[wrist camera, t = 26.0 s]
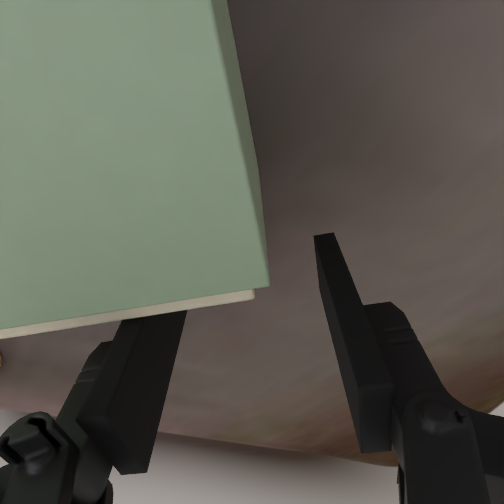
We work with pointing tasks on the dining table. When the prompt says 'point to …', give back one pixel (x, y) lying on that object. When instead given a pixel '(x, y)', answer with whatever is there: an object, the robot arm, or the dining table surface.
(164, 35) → the cabinet
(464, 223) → the dining table surface
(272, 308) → the dining table surface
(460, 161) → the dining table surface
